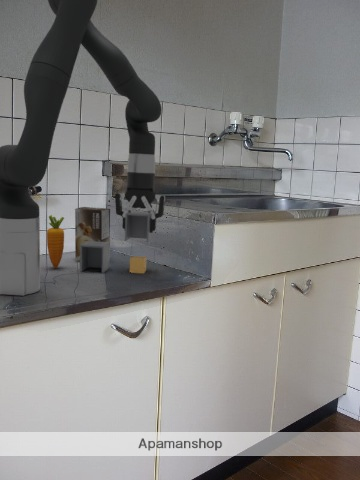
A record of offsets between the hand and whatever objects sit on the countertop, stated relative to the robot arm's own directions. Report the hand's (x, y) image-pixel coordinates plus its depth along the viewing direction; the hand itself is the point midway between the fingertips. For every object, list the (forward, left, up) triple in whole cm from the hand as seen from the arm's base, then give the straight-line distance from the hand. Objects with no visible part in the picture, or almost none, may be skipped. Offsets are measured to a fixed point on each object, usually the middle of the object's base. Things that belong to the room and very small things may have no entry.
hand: (139, 231), depth 137 cm
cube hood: (0, 0, -2) cm, 2 cm away
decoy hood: (-2, +12, -11) cm, 17 cm away
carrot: (-3, +23, -11) cm, 26 cm away
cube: (0, 0, -11) cm, 11 cm away
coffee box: (+10, +16, -11) cm, 22 cm away
